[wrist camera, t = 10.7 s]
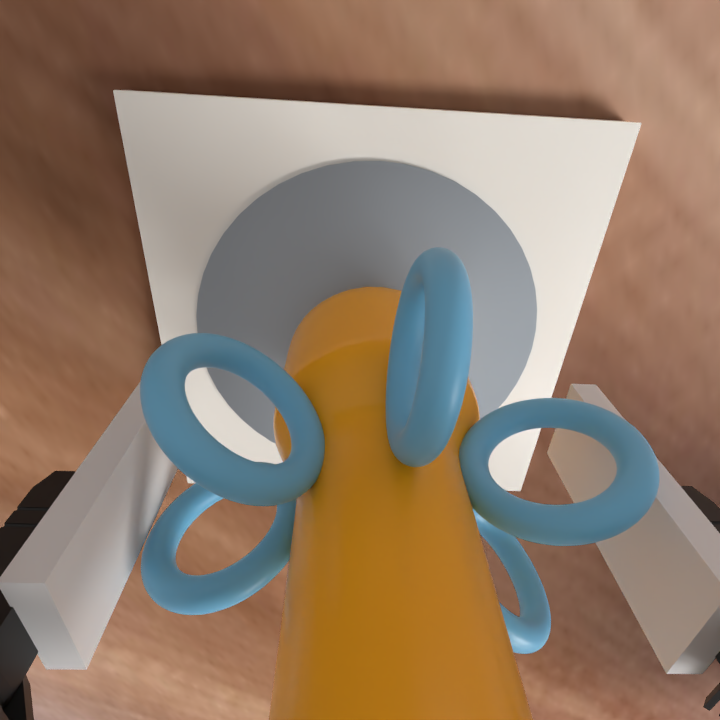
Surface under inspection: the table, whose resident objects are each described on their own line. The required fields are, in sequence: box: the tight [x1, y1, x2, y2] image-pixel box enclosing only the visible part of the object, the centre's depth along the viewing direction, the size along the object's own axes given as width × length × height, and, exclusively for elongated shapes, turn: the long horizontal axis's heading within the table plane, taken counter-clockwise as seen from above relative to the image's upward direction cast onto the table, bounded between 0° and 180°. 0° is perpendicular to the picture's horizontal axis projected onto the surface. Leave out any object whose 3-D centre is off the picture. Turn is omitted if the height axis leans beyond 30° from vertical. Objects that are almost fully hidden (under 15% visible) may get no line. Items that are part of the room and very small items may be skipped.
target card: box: [113, 90, 641, 491], centre depth 18 cm, size 16×16×1 cm
